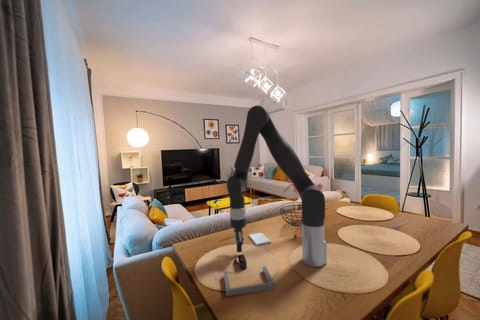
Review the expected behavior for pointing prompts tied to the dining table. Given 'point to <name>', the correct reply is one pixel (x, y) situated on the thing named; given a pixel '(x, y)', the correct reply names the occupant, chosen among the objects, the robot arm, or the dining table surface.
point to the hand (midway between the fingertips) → (239, 251)
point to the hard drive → (259, 239)
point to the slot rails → (249, 288)
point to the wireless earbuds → (241, 261)
